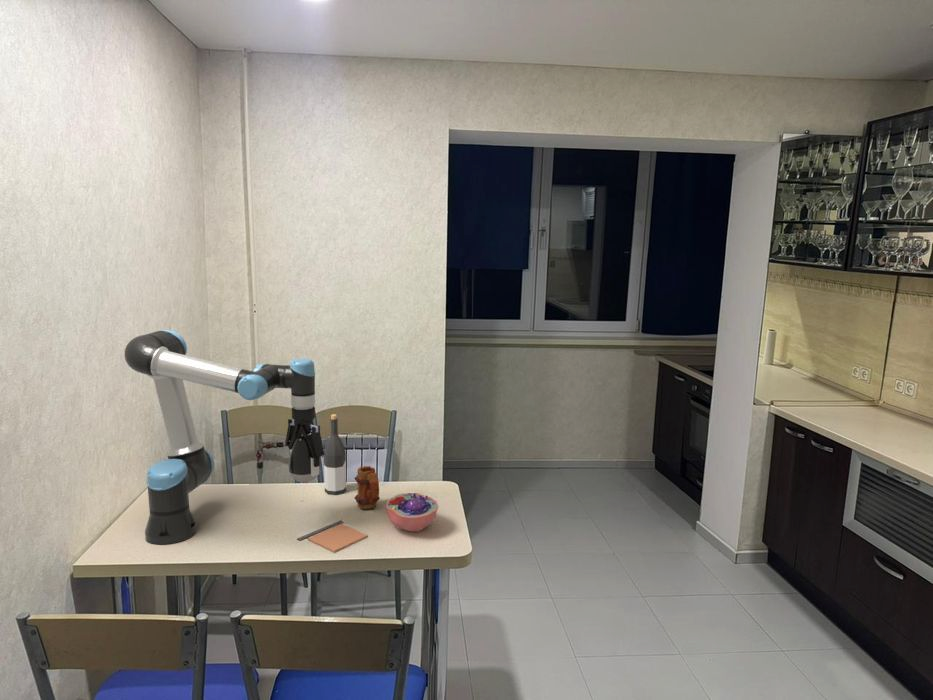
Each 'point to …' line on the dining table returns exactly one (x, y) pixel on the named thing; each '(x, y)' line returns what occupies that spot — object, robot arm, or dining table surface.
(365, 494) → the mug
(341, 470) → the wine bottle
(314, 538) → the mat
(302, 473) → the pump dispenser
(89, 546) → the dining table surface
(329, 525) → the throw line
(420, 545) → the dining table surface
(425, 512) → the cell model
